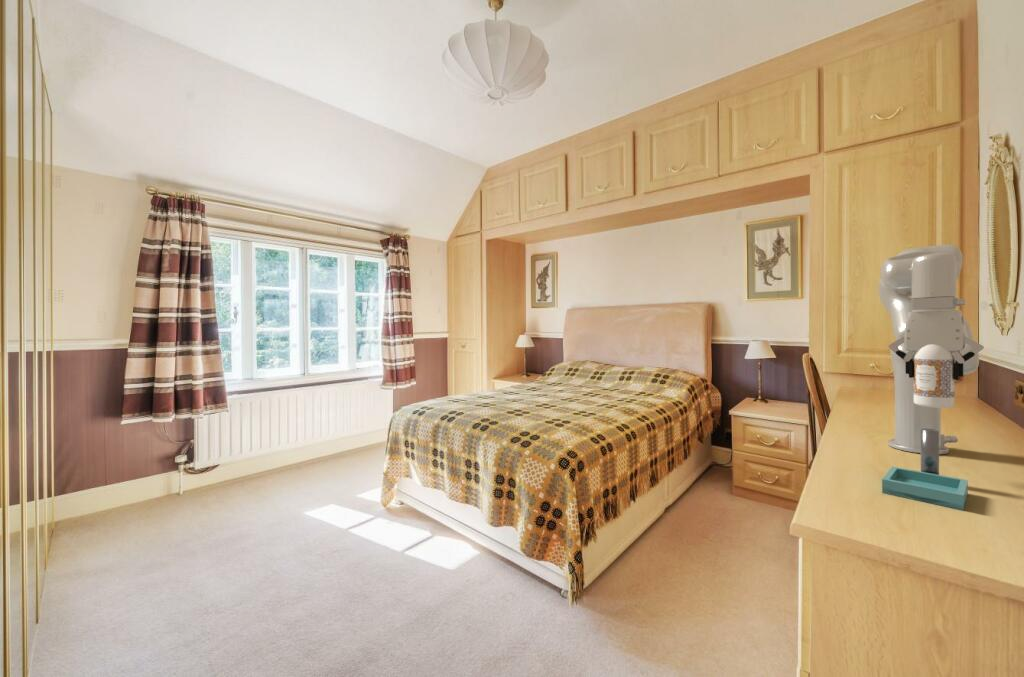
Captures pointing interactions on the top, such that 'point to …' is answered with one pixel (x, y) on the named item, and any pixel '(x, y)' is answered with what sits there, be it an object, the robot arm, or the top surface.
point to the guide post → (930, 451)
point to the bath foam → (934, 377)
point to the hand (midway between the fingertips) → (933, 377)
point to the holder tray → (926, 487)
